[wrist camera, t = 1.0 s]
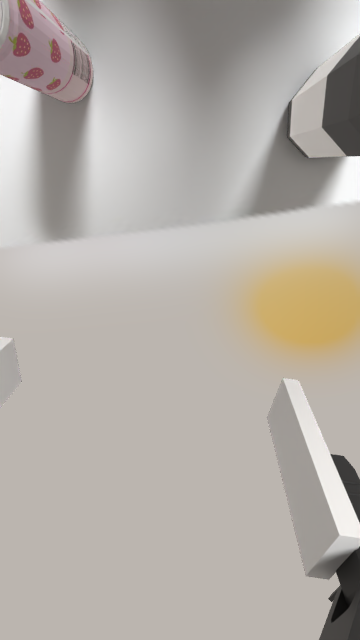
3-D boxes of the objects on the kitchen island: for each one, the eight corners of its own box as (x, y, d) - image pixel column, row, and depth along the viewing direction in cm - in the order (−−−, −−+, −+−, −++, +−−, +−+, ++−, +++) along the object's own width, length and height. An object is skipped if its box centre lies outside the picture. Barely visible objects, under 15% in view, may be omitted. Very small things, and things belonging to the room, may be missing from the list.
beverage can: (28, 57, 29) (-112, -26, 16) (70, 17, 28) (-49, -112, 15) (64, 115, 32) (-33, 83, 19) (105, 81, 30) (29, 19, 17)
